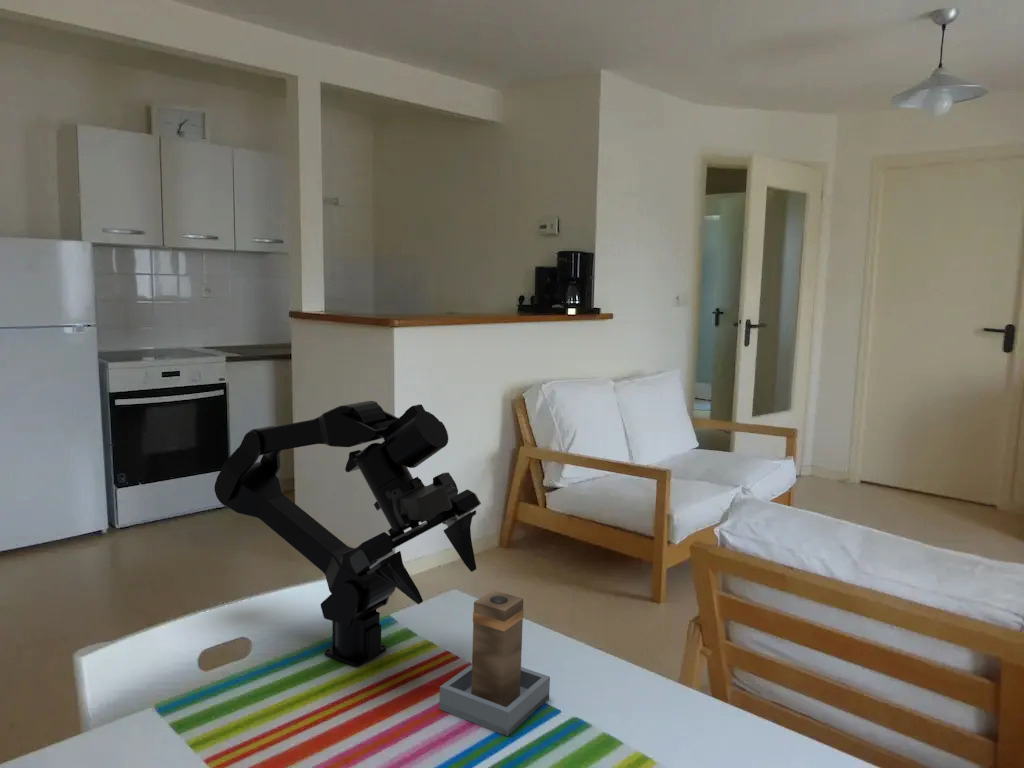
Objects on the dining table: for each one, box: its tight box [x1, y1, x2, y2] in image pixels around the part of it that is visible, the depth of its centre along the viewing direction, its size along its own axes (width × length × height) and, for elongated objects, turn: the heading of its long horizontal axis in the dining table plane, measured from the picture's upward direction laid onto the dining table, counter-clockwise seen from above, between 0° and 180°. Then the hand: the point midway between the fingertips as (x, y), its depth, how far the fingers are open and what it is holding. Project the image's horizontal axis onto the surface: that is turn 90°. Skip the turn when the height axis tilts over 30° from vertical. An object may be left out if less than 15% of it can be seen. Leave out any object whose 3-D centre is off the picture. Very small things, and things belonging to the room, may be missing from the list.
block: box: [471, 589, 525, 707], centre depth 94 cm, size 5×5×13 cm
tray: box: [439, 663, 551, 737], centre depth 95 cm, size 10×10×3 cm
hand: (448, 586), depth 99 cm, fingers open, 9 cm apart
